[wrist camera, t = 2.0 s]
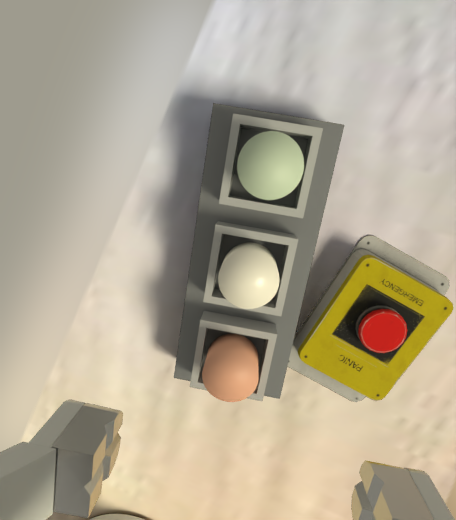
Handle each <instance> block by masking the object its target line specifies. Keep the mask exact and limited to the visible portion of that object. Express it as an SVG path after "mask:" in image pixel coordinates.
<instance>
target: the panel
mask: <svg viewBox="0 0 456 520" xmlns="http://www.w3.org/2000/svg"><path fill="white" fill-rule="evenodd" d="M343 128H344V125H342V124H336V123H330V122H324V121H318V120H312V119H306V118H300V117H294V116H288V115H282V114H275V113H269V112H263V111H257V110H251V109H245V108H239V107H233V106H227V105H221V104H215V103H213V109H212V116H211V123H210V130H209V137H208V144H207V151H206V158H205V165H204V172H203V179H202V185H201V192H200V199H199V206H198V213H197V220H196V227H195V234H194V241H193V248H192V255H191V262H190V269H189V276H188V283H187V290H186V296H185V303H184V310H183V317H182V324H181V331H180V338H179V345H178V352H177V359H176V366H175V373H174V378H177V379H182V380H187V381H191V382H190V387H192V388H197V389H202V390H207V389H206V388H205V386H204V383H203V380H202V371H203V367H204V364H205V360H206V356H207V353H208V349H209V347H210V345H211V344H212V342H213V341H214V340H215V339H217V338H218V337H220V336H222V335H226V334H238V335H241V336H244V337H246V338H247V339H249V340H250V341H251V342H252V343H253V344H254V346H255V347H256V349H257V352H258V377H259V379H258V384H257V387H256V389H255V391H254V392H253V393H252V394H251V395H250V396H249V397H247V398H248V399H253V400H258V401H263V397H264V396H268V397H273V398H279V399H280V395H281V391H282V387H283V382H284V378H285V374H286V370H287V365H288V361H289V357H290V353H291V349H292V344H293V340H294V336H295V332H296V327H297V323H298V319H299V315H300V310H301V306H302V302H303V298H304V294H305V289H306V285H307V281H308V277H309V272H310V268H311V264H312V260H313V255H314V251H315V247H316V243H317V238H318V234H319V230H320V226H321V222H322V217H323V213H324V209H325V205H326V200H327V196H328V192H329V188H330V183H331V179H332V175H333V171H334V167H335V162H336V158H337V154H338V150H339V145H340V141H341V137H342V133H343ZM267 131H277V132H281V133H284V134H286V135H288V136H290V137H291V138H292V139H293V140H294V141H295V142H296V143H297V144H298V146H299V147H300V149H301V151H302V154H303V158H304V171H303V175H302V178H301V180H300V182H299V184H298V185H297V187H296V188H295V189H294V190H293V191H292V192H291V193H289V194H288V195H286V196H284V197H282V198H279V199H275V200H264V199H260V198H257V197H255V196H253V195H252V194H250V193H249V192H248V191H247V190H246V189H245V188H244V187H243V185H242V183H241V182H240V179H239V176H238V172H237V162H238V157H239V154H240V151H241V150H242V148H243V146H244V145H245V144H246V142H247V141H248V140H250V139H251V138H252V137H254V136H255V135H257V134H259V133H262V132H267ZM247 242H252V243H257V244H260V245H262V246H264V247H266V248H267V249H268V250H269V251H270V252H271V253H272V254H273V256H274V258H275V260H276V264H277V268H278V272H279V287H278V290H277V292H276V294H275V296H274V297H273V298H272V300H270V301H269V302H268V303H267V304H265V305H263V306H261V307H259V308H254V309H244V308H240V307H237V306H235V305H233V304H231V303H230V302H229V301H228V300H227V299H226V298H225V297H224V296H223V294H222V293H221V290H220V288H219V283H218V275H219V271H220V268H221V266H222V263H223V261H224V258H225V256H226V254H227V253H228V252H229V251H230V250H231V249H232V248H233V247H235V246H237V245H239V244H242V243H247ZM207 391H208V390H207Z"/></svg>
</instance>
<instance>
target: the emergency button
mask: <svg viewBox="0 0 456 520" xmlns="http://www.w3.org/2000/svg"><path fill="white" fill-rule="evenodd" d="M449 286H450V284H449V280H448V279H447V277H445V276H444V275H442V274H440V273H438V272H437V271H435V270H433V269H431V268H430V267H428V266H426V265H424V264H423V263H421V262H419V261H417V260H416V259H414V258H412V257H410V256H409V255H407V254H405V253H403V252H402V251H400V250H398V249H396V248H395V247H393V246H391V245H389V244H388V243H386V242H384V241H382V240H381V239H379V238H377V237H375V236H371V235H368V236H366V237H363V238H362V239H361V240H360V241H359V242H358V244H357V245H356V247H355V248H354V250H353V251H352V253H351V254H350V256H349V257H348V259H347V260H346V262H345V263H344V265H343V266H342V268H341V269H340V270H339V272H338V273H337V275H336V276H335V278H334V279H333V281H332V282H331V284H330V285H329V287H328V288H327V290H326V291H325V293H324V294H323V296H322V297H321V299H320V300H319V302H318V303H317V305H316V306H315V308H314V309H313V311H312V312H311V314H310V315H309V317H308V318H307V320H306V321H305V323H304V324H303V326H302V327H301V329H300V330H299V332H298V333H297V335H296V336H295V338H294V340H293V344H292V349H291V353H290V357H289V361H288V365H287V367H289V368H291V369H293V370H295V371H297V372H298V373H300V374H302V375H304V376H306V377H308V378H310V379H311V380H313V381H315V382H317V383H319V384H321V385H322V386H324V387H326V388H328V389H330V390H332V391H334V392H335V393H337V394H339V395H341V396H343V397H345V398H346V399H348V400H350V401H353V402H358V401H361V400H363V399H364V398H365V397H368V398H370V399H372V400H375V401H377V400H382V399H383V398H384V397H385V396H386V395H387V394H388V392H389V391H390V390H391V389H392V387H393V386H394V385H395V384H396V382H397V381H398V380H399V379H400V377H401V376H402V375H403V373H404V372H405V371H406V370H407V368H408V367H409V366H410V365H411V363H412V362H413V361H414V360H415V358H416V357H417V356H418V355H419V353H420V352H421V351H422V349H423V348H424V347H425V346H426V344H427V343H428V342H429V341H430V339H431V338H432V337H433V336H434V334H435V333H436V332H437V331H438V329H439V328H440V327H441V325H442V324H443V323H444V322H445V320H446V319H447V318H448V317H449V315H450V314H451V313H452V310H453V304H452V303H451V302H450V300H449V299H448V298H446V297H445V296H444V295H445V294H446V292H447V291H448V289H449Z"/></svg>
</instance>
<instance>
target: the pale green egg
mask: <svg viewBox="0 0 456 520" xmlns="http://www.w3.org/2000/svg"><path fill="white" fill-rule="evenodd" d="M303 171H304V158H303V154H302V151H301V149H300V147H299V146H298V144H297V143H296V142H295V141H294V140H293V139H292V138H291V137H290V136H288V135H286V134H284V133H281V132H277V131H267V132H262V133H259V134H257V135H255V136H254V137H252V138H251V139H250V140H248V141H247V142H246V144H245V145H244V146H243V148H242V150H241V151H240V154H239V157H238V162H237V172H238V176H239V179H240V182H241V183H242V185H243V187H244V188H245V189H246V190H247V191H248V192H249V193H250V194H252V195H253V196H255V197H257V198H260V199H264V200H275V199H279V198H282V197H284V196H286V195H288V194H289V193H291V192H292V191H293V190H294V189H295V188H296V187H297V185H298V184H299V182H300V180H301V178H302V175H303Z"/></svg>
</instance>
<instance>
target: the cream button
mask: <svg viewBox="0 0 456 520" xmlns="http://www.w3.org/2000/svg"><path fill="white" fill-rule="evenodd" d="M218 283H219V288H220V290H221V293H222V294H223V296H224V297H225V298H226V299H227V300H228V301H229V302H230V303H231V304H233V305H235V306H237V307H240V308H244V309H254V308H259V307H261V306H263V305H265V304H267V303H268V302H269V301H270V300H272V298H273V297H274V296H275V294H276V292H277V290H278V287H279V272H278V268H277V264H276V260H275V258H274V256H273V254H272V253H271V252H270V251H269V250H268V249H267V248H266V247H264V246H262V245H260V244H257V243H252V242H247V243H242V244H239V245H237V246H235V247H233V248H232V249H231V250H230V251H229V252H228V253H227V254H226V256H225V258H224V261H223V263H222V266H221V268H220V271H219V275H218Z"/></svg>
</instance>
